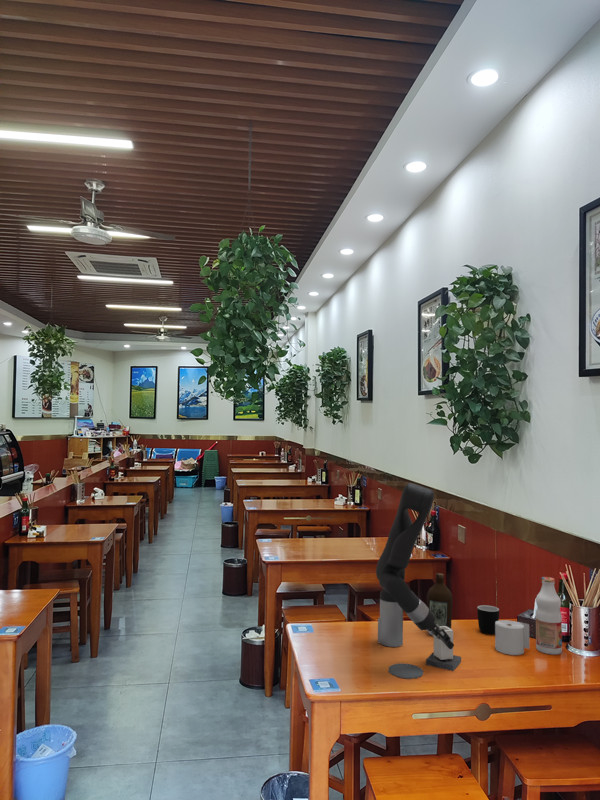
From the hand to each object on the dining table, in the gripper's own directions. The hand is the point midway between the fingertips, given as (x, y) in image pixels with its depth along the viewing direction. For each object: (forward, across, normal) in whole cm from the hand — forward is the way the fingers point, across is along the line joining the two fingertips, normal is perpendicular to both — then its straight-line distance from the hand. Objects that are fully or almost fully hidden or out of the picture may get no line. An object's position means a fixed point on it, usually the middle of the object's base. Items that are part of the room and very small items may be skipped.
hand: (447, 644), depth 208 cm
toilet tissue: (+27, +5, -18) cm, 33 cm away
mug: (+31, +26, -22) cm, 46 cm away
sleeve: (+2, 0, +4) cm, 5 cm away
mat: (-9, -3, +18) cm, 20 cm away
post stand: (+3, 0, +6) cm, 7 cm away
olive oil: (+15, +28, -6) cm, 33 cm away
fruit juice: (+38, 0, -28) cm, 47 cm away
